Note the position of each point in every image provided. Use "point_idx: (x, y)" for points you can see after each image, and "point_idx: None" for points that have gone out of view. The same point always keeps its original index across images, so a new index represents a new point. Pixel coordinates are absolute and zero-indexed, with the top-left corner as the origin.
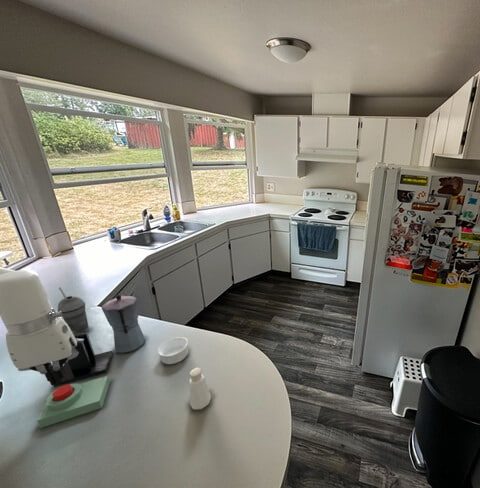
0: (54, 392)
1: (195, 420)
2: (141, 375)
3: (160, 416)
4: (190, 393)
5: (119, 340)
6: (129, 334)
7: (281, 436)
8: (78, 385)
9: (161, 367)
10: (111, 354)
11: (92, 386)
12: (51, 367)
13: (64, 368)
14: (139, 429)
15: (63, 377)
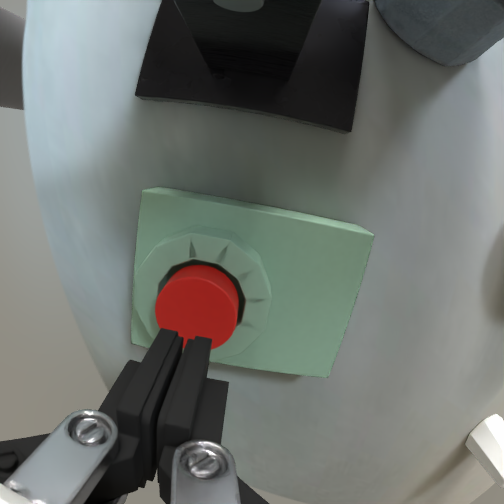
0: (161, 310)
1: (451, 461)
2: (453, 263)
3: (422, 440)
4: (487, 461)
5: (442, 7)
6: (500, 25)
7: (482, 492)
8: (260, 279)
9: (501, 263)
10: (365, 23)
11: (310, 275)
12: (137, 469)
13: (171, 8)
14: (379, 453)
15: (208, 364)
